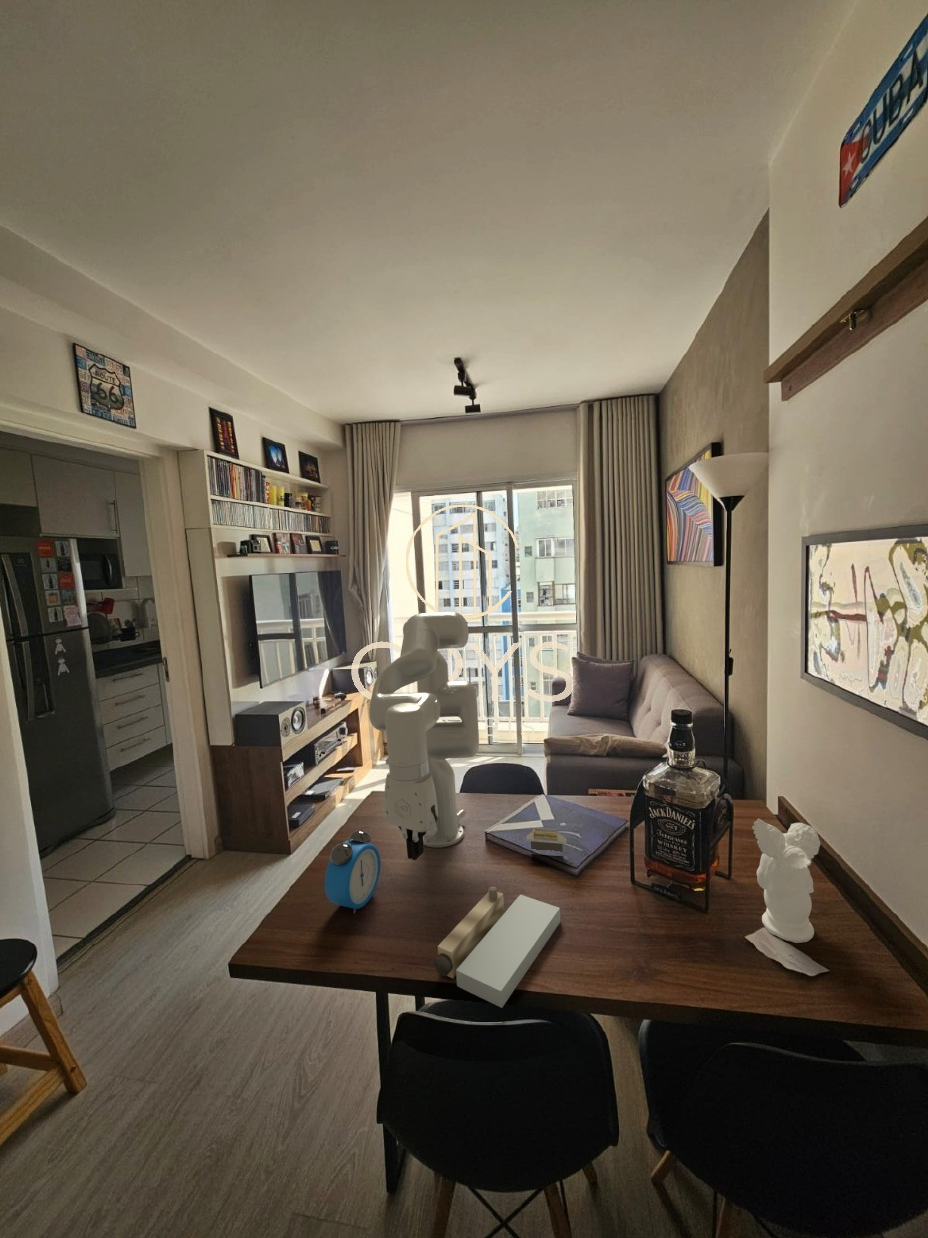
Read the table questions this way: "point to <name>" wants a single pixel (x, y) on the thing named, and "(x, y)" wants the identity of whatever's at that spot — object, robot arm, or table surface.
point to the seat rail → (508, 950)
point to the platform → (546, 840)
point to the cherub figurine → (787, 878)
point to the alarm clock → (353, 871)
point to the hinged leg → (469, 933)
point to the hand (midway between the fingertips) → (415, 855)
